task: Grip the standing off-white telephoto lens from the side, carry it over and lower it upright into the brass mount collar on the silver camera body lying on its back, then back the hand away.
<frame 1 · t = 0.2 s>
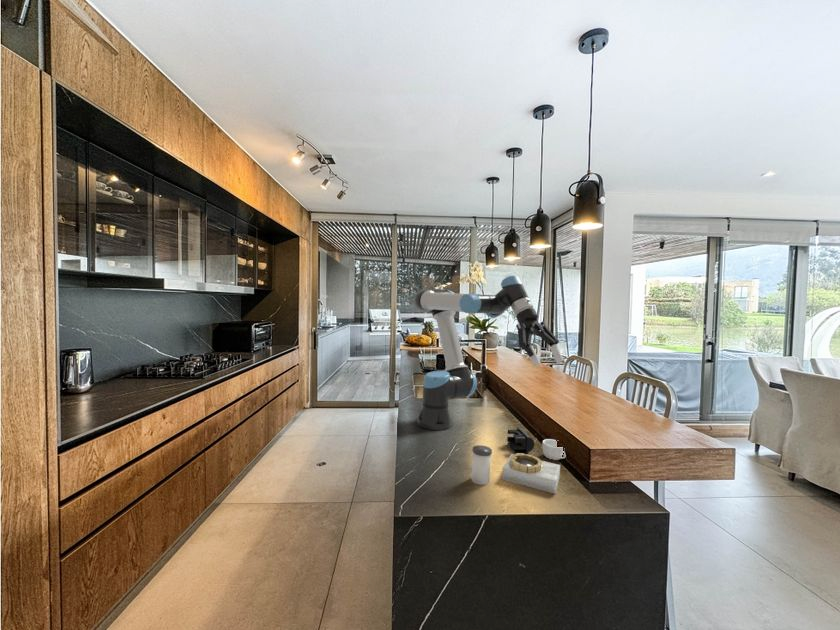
hand: (549, 363, 130), 35 cm above the countertop, tool tilted 35°, fingers open, 13 cm apart
telephoto lens: (480, 480, 115), on the countertop
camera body: (531, 478, 118), on the countertop
teacup: (554, 459, 133), on the countertop
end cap: (519, 449, 141), on the countertop
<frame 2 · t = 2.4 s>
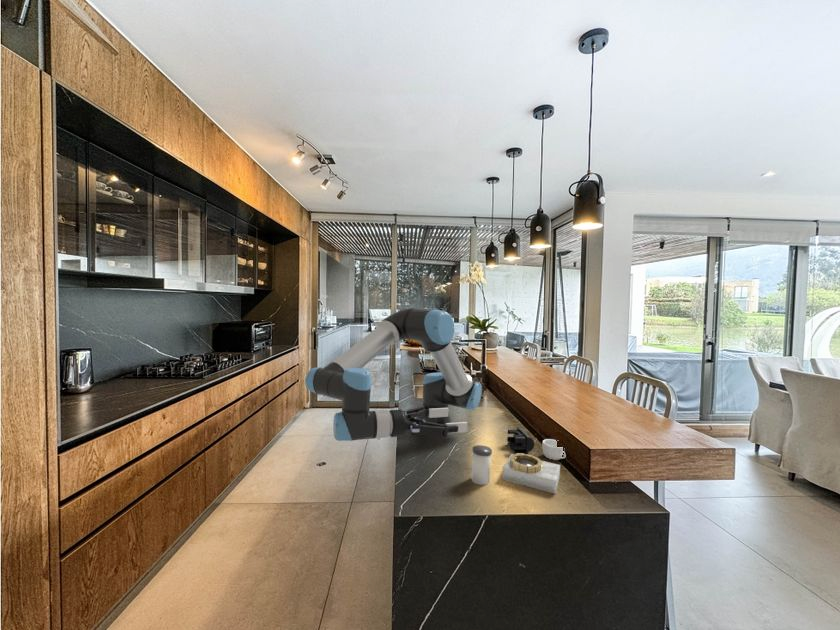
hand: (457, 419, 111), 20 cm above the countertop, tool horizontal, fingers open, 13 cm apart
nothing on the countertop moved.
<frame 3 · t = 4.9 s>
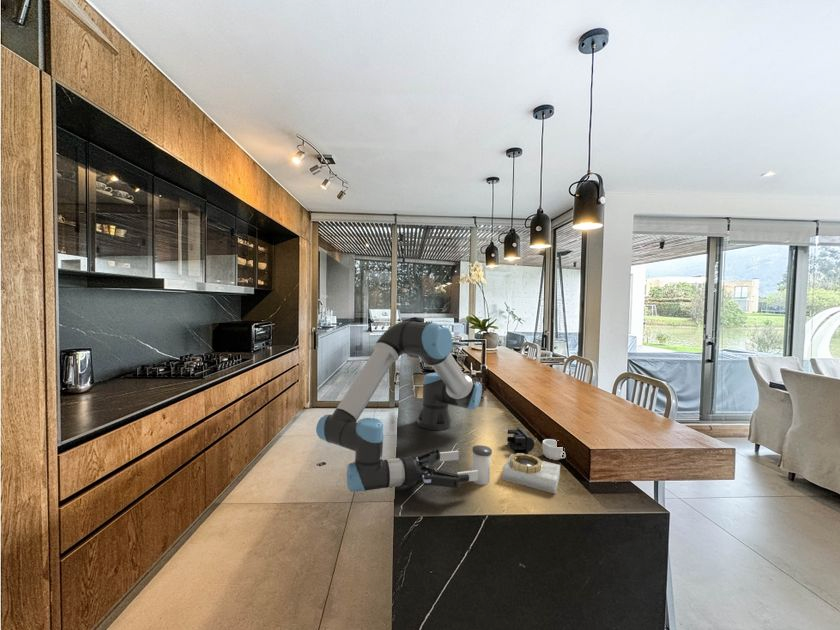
hand: (467, 464, 112), 6 cm above the countertop, tool horizontal, fingers open, 13 cm apart
nothing on the countertop moved.
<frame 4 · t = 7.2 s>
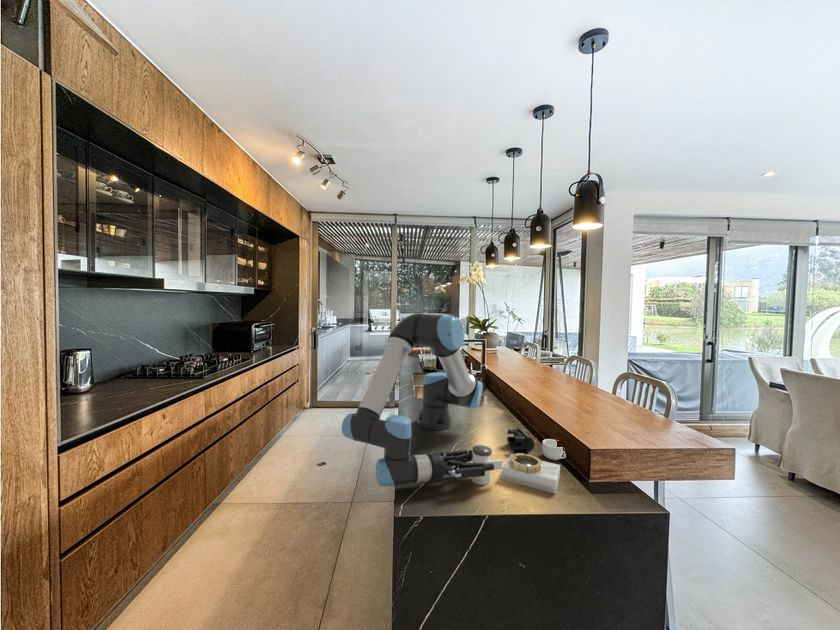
hand: (495, 459, 116), 6 cm above the countertop, tool horizontal, fingers closed on telephoto lens, 6 cm apart
telephoto lens: (480, 480, 115), on the countertop, touching gripper
everything else where it was.
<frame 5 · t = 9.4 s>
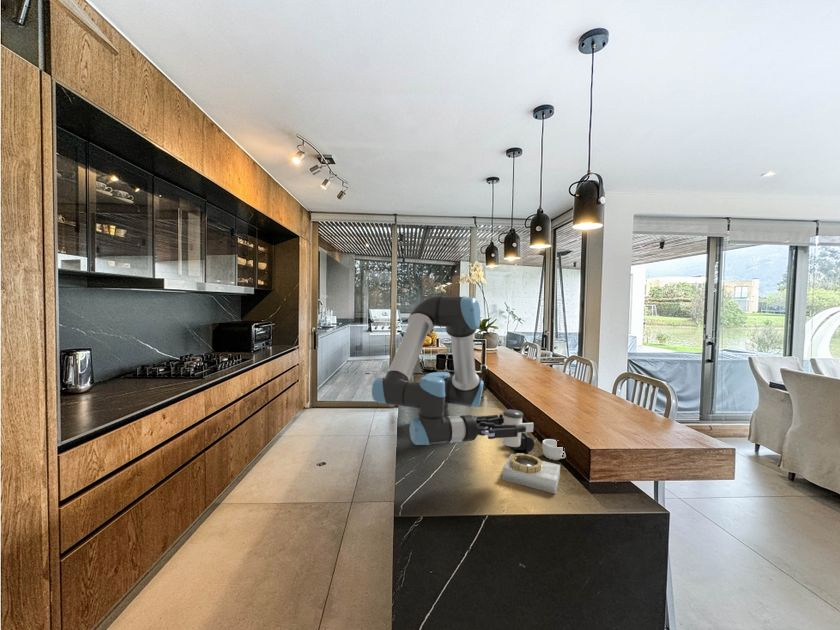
hand: (526, 423, 117), 18 cm above the countertop, tool horizontal, fingers closed on telephoto lens, 6 cm apart
telephoto lens: (511, 443, 116), point 12 cm above the countertop, touching gripper
everything else where it was.
when the fingers open (11 cm above the countertop, at t = 11.9 s): telephoto lens stays where it is, resting on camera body.
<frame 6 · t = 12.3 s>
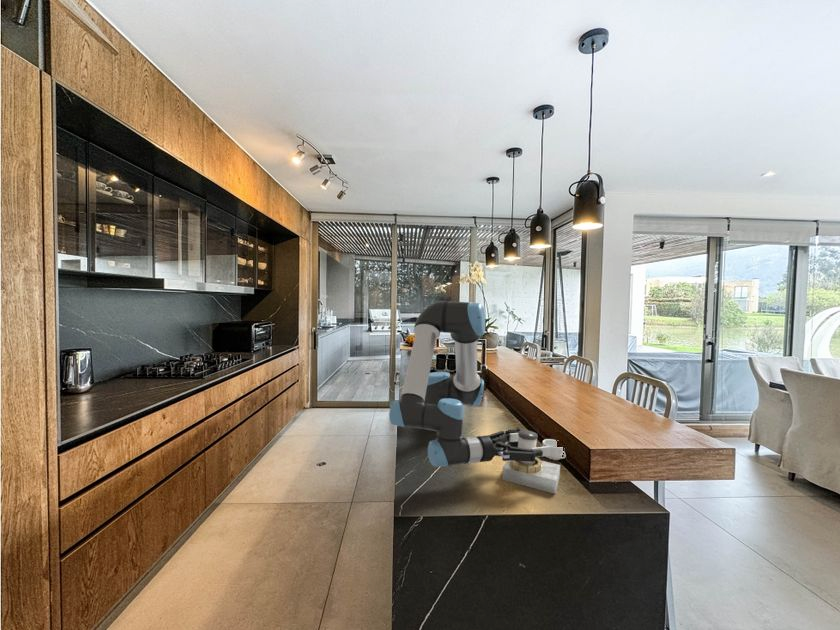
hand: (537, 443, 119), 11 cm above the countertop, tool horizontal, fingers open, 11 cm apart
telephoto lens: (525, 463, 118), point 4 cm above the countertop, touching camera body
everything else where it was.
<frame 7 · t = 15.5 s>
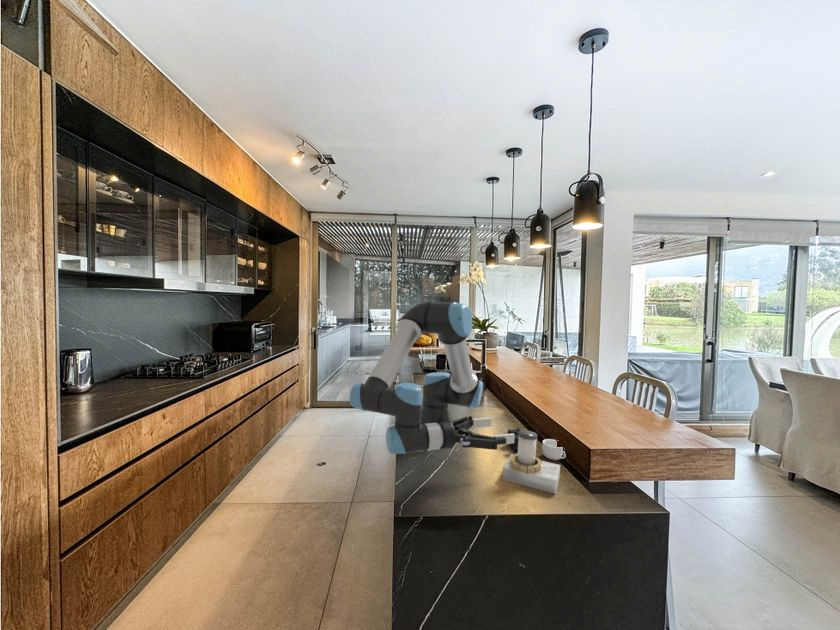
hand: (501, 429, 114), 16 cm above the countertop, tool horizontal, fingers open, 13 cm apart
nothing on the countertop moved.
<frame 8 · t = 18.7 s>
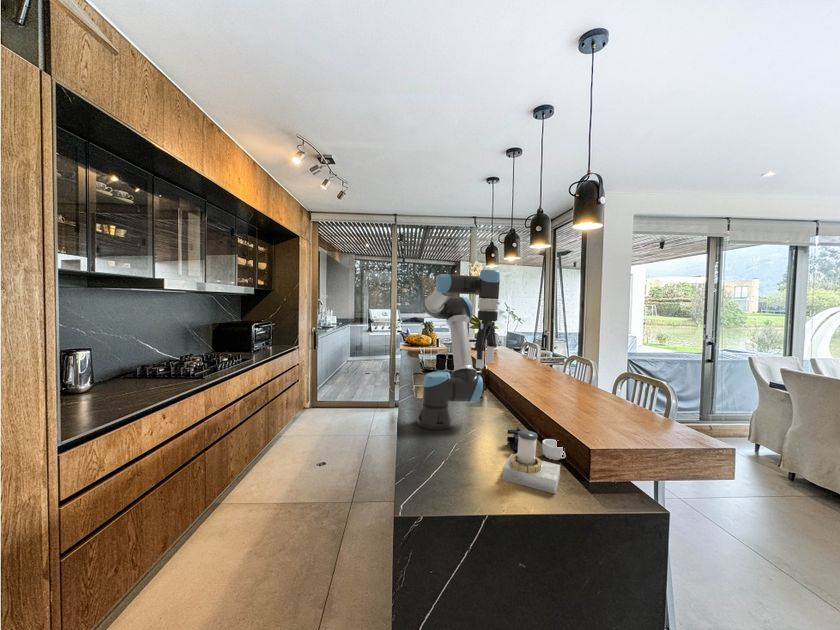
hand: (484, 365, 140), 32 cm above the countertop, tool pointing down, fingers open, 13 cm apart
nothing on the countertop moved.
at the end: telephoto lens 0.1 cm from the target spot on the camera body, point 4.3 cm above the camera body's base; telephoto lens tilted 0°; the gripper is holding nothing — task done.
